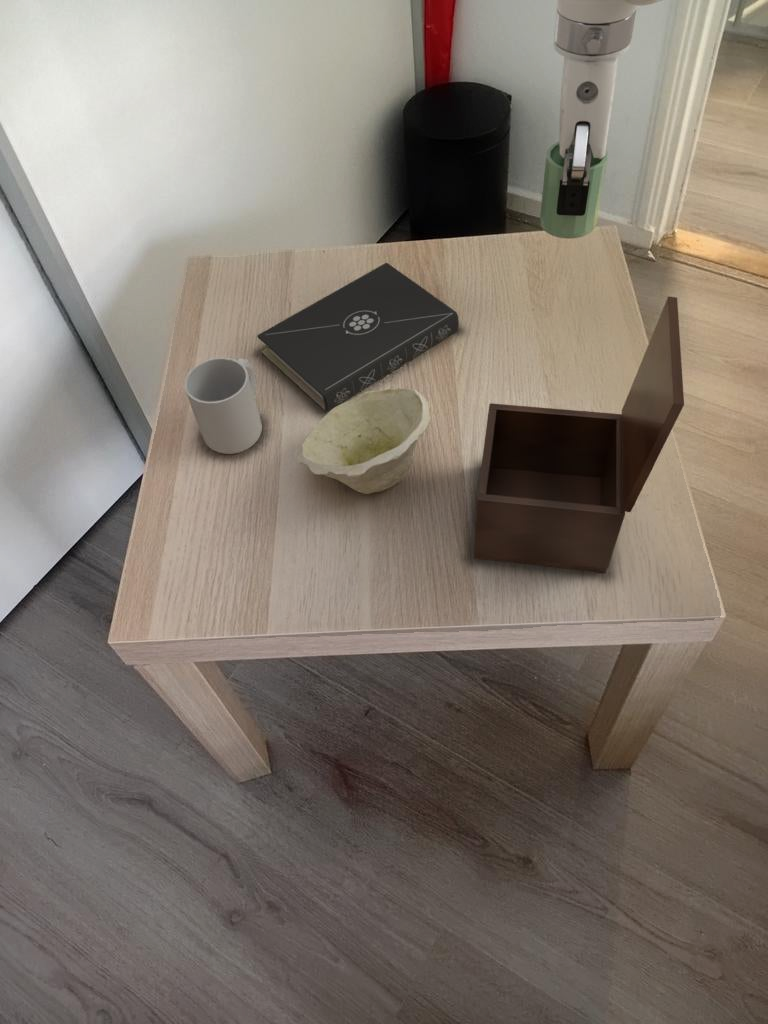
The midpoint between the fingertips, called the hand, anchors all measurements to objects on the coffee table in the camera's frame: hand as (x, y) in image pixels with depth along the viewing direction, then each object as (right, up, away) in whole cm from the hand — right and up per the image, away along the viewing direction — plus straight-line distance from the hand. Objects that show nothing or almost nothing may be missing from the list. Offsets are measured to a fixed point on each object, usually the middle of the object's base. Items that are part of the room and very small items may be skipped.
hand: (571, 194), depth 91 cm
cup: (-40, -27, +4) cm, 48 cm away
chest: (-5, -38, -6) cm, 38 cm away
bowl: (-24, -32, -1) cm, 40 cm away
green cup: (0, -2, +3) cm, 4 cm away
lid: (+1, -28, -22) cm, 35 cm away
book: (-25, -15, +12) cm, 31 cm away
